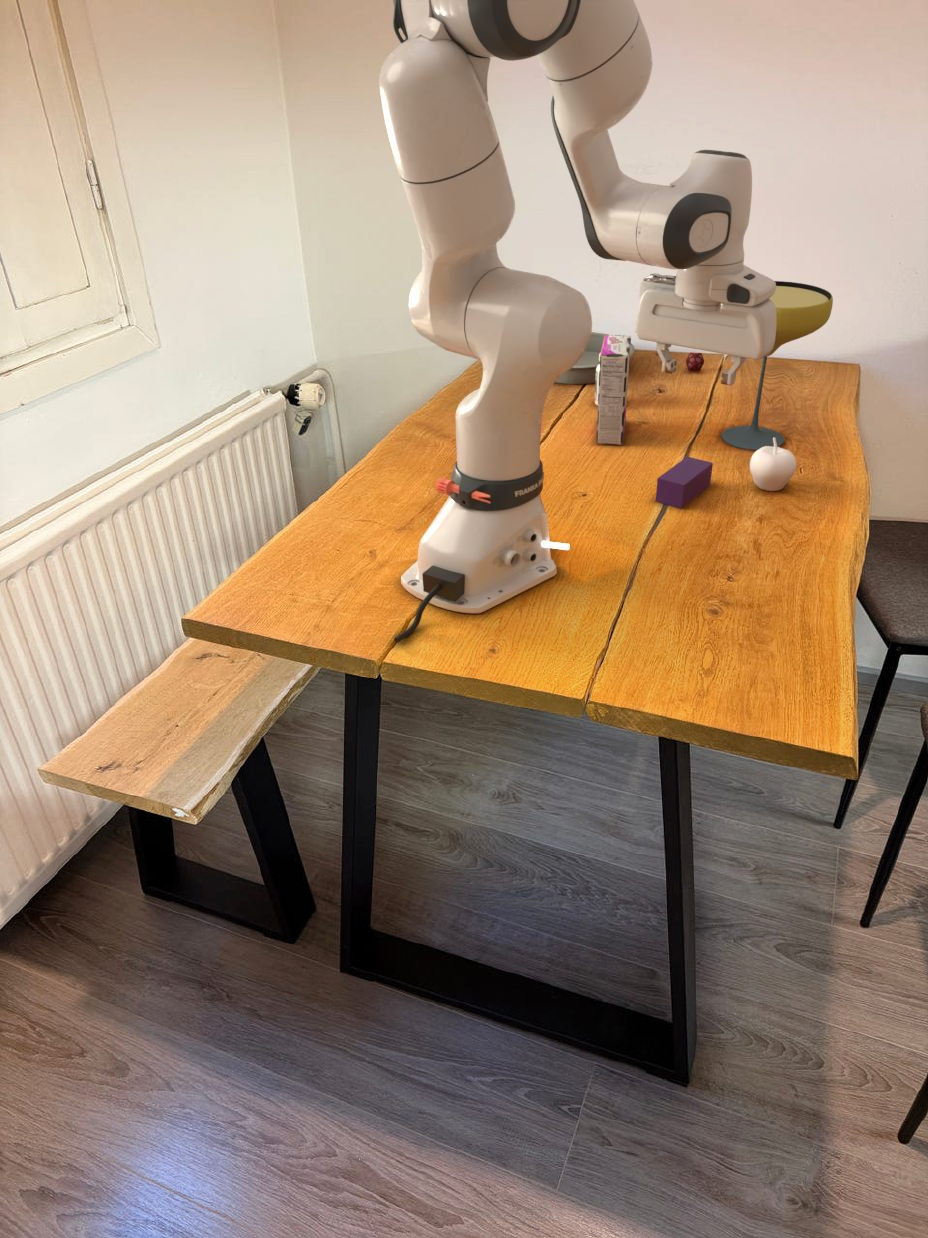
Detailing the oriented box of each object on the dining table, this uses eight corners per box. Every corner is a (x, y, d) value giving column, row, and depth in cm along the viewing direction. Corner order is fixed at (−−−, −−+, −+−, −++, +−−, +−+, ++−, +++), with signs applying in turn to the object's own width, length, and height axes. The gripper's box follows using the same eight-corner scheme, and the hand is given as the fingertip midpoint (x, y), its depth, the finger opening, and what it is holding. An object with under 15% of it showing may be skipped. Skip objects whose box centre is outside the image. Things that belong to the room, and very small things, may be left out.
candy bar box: (599, 421, 167) (604, 333, 158) (625, 423, 166) (632, 334, 157) (594, 444, 158) (599, 353, 149) (622, 446, 157) (629, 354, 148)
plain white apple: (774, 474, 146) (782, 427, 141) (801, 491, 140) (810, 444, 136) (737, 481, 144) (744, 434, 140) (762, 499, 138) (771, 451, 134)
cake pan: (511, 354, 203) (511, 334, 200) (617, 347, 204) (618, 327, 202) (530, 391, 182) (530, 369, 180) (647, 382, 184) (648, 361, 181)
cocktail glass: (689, 450, 155) (707, 302, 141) (712, 414, 168) (730, 277, 154) (797, 465, 148) (826, 312, 134) (812, 427, 162) (840, 284, 148)
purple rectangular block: (681, 508, 136) (684, 485, 134) (655, 501, 139) (657, 477, 137) (710, 485, 143) (713, 462, 141) (684, 478, 145) (687, 456, 143)
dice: (703, 367, 191) (705, 349, 189) (702, 374, 187) (705, 355, 185) (685, 367, 192) (687, 348, 189) (684, 373, 188) (686, 355, 186)
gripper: (630, 276, 126) (624, 371, 134) (769, 294, 115) (754, 397, 123) (651, 266, 130) (645, 360, 138) (788, 283, 119) (772, 383, 127)
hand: (697, 377), depth 131 cm, fingers open, 8 cm apart
